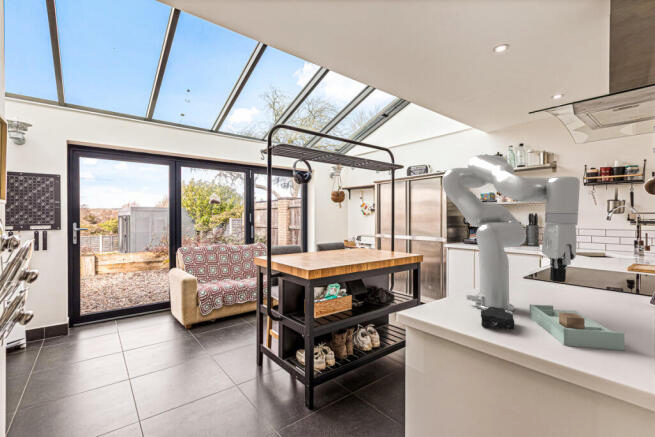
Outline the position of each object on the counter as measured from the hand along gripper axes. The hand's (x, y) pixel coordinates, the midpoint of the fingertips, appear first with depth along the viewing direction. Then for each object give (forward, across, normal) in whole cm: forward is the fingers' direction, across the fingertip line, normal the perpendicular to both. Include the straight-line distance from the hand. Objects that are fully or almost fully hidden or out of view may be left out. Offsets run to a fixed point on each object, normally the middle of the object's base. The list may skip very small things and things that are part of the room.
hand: (557, 281), depth 87 cm
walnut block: (+11, +8, 0) cm, 14 cm away
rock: (+15, +2, -15) cm, 22 cm away
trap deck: (+15, +1, +4) cm, 15 cm away
